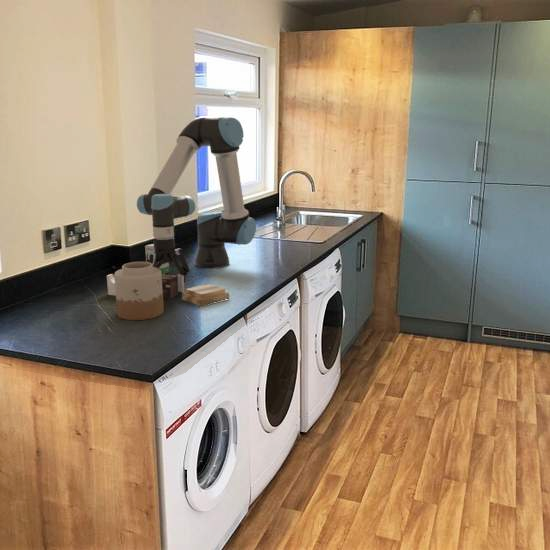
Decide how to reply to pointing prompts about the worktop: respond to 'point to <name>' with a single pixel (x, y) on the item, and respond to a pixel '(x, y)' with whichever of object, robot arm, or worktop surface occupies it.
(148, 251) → the ink box
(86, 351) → the worktop surface
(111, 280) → the bracket
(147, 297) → the vase
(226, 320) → the worktop surface
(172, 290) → the box
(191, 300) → the plinth
